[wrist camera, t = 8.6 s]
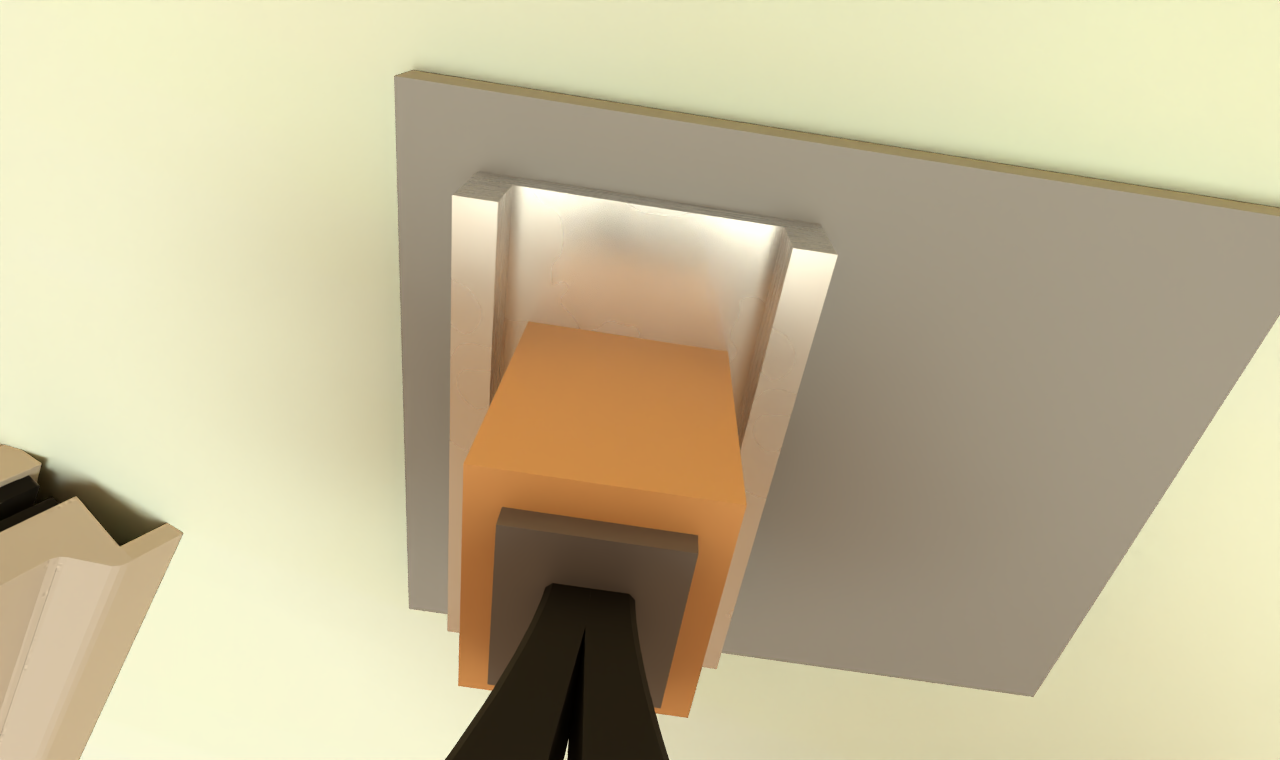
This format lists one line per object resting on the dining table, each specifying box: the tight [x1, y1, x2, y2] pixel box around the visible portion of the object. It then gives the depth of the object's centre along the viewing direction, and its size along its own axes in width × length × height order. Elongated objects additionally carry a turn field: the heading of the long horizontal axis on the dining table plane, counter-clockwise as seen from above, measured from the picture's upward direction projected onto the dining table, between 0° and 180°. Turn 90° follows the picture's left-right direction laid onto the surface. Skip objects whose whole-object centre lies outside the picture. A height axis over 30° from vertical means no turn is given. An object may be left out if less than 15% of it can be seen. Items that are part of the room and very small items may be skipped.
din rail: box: [448, 171, 838, 669], centre depth 16 cm, size 11×7×2 cm, turn 172°
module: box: [458, 321, 747, 718], centre depth 14 cm, size 5×4×5 cm
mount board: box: [394, 70, 1280, 697], centre depth 17 cm, size 14×18×1 cm
